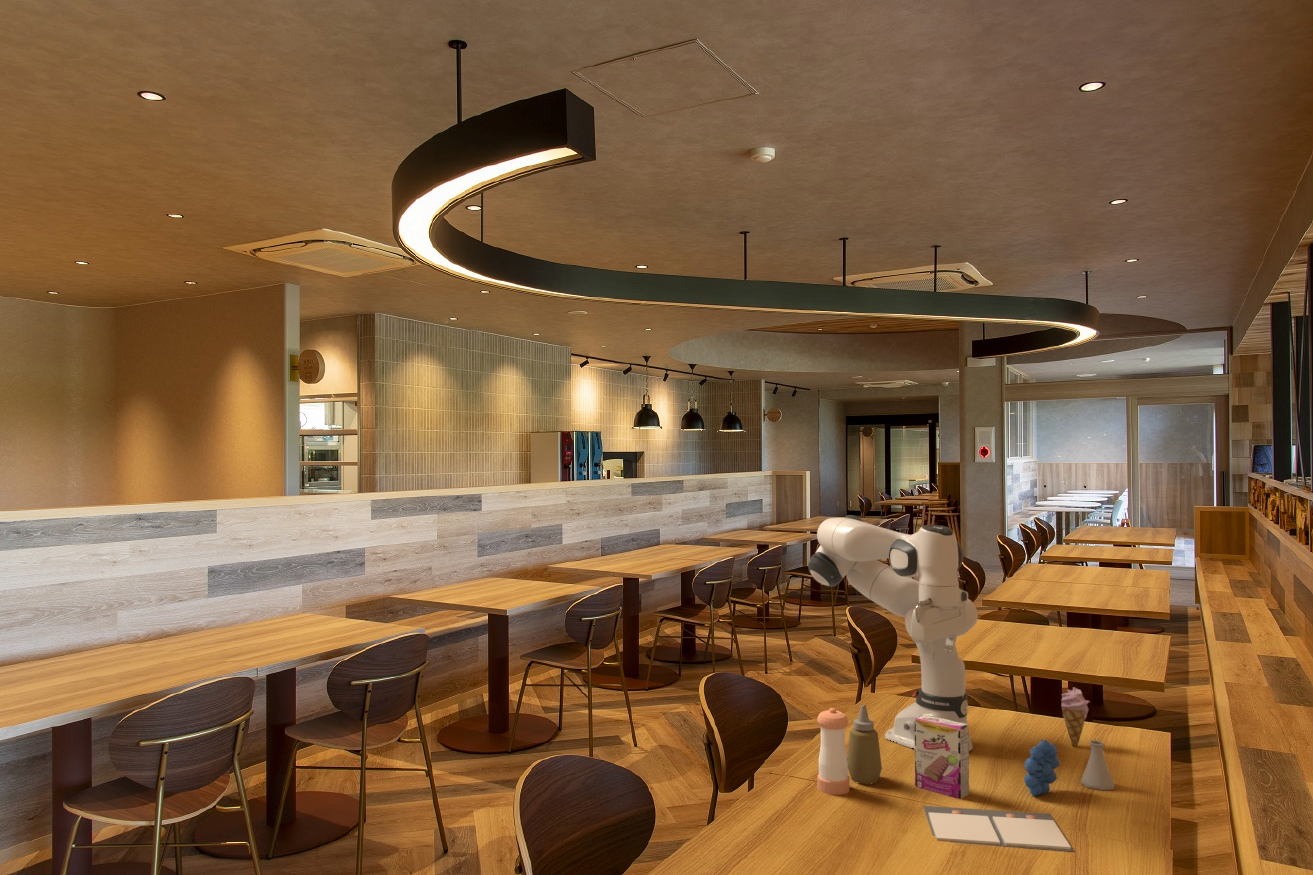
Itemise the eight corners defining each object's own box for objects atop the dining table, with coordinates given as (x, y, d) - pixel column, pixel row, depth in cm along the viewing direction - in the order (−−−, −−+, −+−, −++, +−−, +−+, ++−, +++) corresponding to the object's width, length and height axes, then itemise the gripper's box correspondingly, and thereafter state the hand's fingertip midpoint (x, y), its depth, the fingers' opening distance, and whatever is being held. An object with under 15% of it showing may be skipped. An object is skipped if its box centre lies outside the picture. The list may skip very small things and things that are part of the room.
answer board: (934, 845, 168) (934, 838, 168) (923, 809, 185) (923, 803, 185) (1074, 855, 163) (1074, 848, 163) (1050, 817, 180) (1050, 811, 180)
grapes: (1040, 782, 199) (1039, 731, 199) (1067, 791, 193) (1066, 739, 194) (1009, 793, 193) (1008, 740, 193) (1036, 803, 187) (1036, 749, 187)
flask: (1119, 792, 193) (1118, 748, 193) (1085, 790, 194) (1084, 746, 194) (1109, 780, 200) (1108, 737, 200) (1076, 778, 201) (1075, 736, 201)
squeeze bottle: (883, 777, 203) (882, 702, 203) (880, 790, 195) (879, 712, 195) (849, 773, 205) (847, 699, 206) (845, 786, 198) (844, 709, 198)
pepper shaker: (852, 788, 196) (851, 705, 197) (845, 800, 190) (844, 714, 190) (821, 783, 199) (820, 702, 200) (814, 795, 193) (812, 710, 193)
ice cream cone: (1091, 744, 224) (1090, 687, 224) (1089, 751, 219) (1088, 693, 219) (1063, 739, 227) (1062, 684, 228) (1060, 746, 222) (1059, 689, 222)
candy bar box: (914, 789, 196) (913, 718, 196) (923, 782, 199) (922, 713, 200) (961, 802, 188) (960, 728, 188) (970, 795, 192) (969, 723, 192)
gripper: (929, 603, 185) (930, 667, 185) (971, 592, 199) (972, 651, 199) (903, 600, 189) (904, 662, 189) (946, 589, 204) (947, 646, 204)
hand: (939, 656), depth 194 cm, fingers open, 8 cm apart
